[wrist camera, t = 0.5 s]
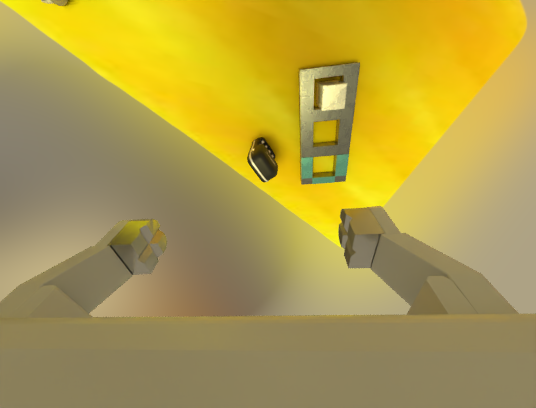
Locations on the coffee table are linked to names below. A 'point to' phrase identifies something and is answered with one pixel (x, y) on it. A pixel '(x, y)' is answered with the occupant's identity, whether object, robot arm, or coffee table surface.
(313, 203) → the coffee table surface
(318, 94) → the steel block
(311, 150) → the grey slotted board
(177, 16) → the coffee table surface
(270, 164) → the battery charger
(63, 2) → the toy rhinoceros
